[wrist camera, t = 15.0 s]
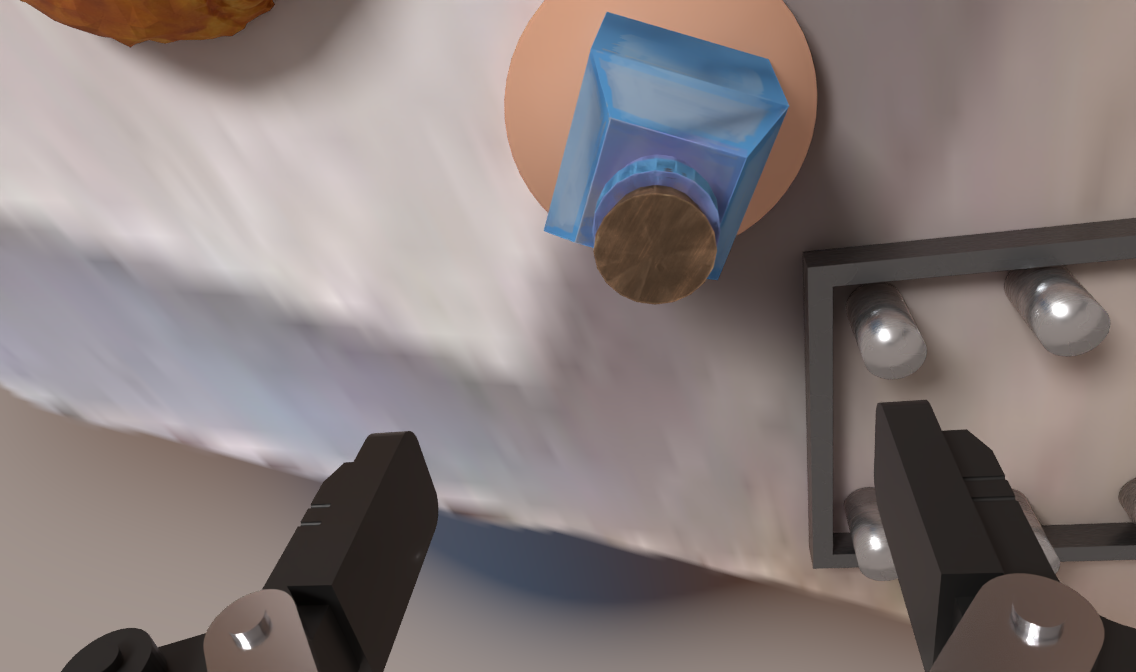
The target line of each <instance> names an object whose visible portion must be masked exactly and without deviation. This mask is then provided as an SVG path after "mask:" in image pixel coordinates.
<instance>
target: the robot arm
mask: <svg viewBox="0 0 1136 672" xmlns="http://www.w3.org/2000/svg"><path fill="white" fill-rule="evenodd" d="M874 485H875V494H876V501H877V507H878V511H879V515H880V518H881V522H882V525H883V529H884V532H885V535H886V539H887V542H888V546H889V549H890V553H891V556H892V560H893V563H894V566H895V570H896V573H897V577H898V580H899V584H900V587H901V590H902V594H903V597H904V601H905V604H906V608H907V611H908V615H909V618H910V621H911V625H912V628H913V632H914V635H915V639H916V642H917V645H918V649H919V652H920V655H921V659H922V662H923V666H924V670H925V672H1136V629H1135V628H1132V627H1128V626H1124V625H1121V624H1119V623H1116V622H1113V621H1111V620H1108V619H1106V618H1104V617H1102V616H1100V615H1099V614H1098V613H1097V611H1096V610H1095V609H1094V607H1093V606H1092V605H1091V604H1090V603H1089V602H1088V601H1087V600H1086V599H1085V598H1084V597H1083V596H1081V595H1080V594H1079V593H1078V592H1076V591H1075V590H1073V589H1071V588H1070V587H1068V586H1066V585H1064V584H1062V583H1060V582H1059V580H1058V578H1057V577H1056V575H1055V573H1054V571H1053V569H1052V567H1051V565H1050V563H1049V561H1048V559H1047V557H1046V555H1045V553H1044V551H1043V549H1042V547H1041V545H1040V544H1039V542H1038V540H1037V538H1036V536H1035V534H1034V532H1033V530H1032V528H1031V526H1030V524H1029V522H1028V520H1027V518H1026V516H1025V514H1024V512H1023V510H1022V508H1021V506H1020V504H1019V502H1018V501H1016V499H1015V494H1014V492H1013V490H1012V488H1011V486H1010V485H1009V483H1008V481H1007V480H1005V475H1004V473H1003V471H1002V469H1001V467H1000V465H999V463H998V461H997V459H996V457H995V455H994V453H993V451H992V450H991V449H990V448H989V447H987V446H986V445H985V444H984V443H983V442H981V441H980V440H979V439H978V438H977V437H975V436H974V435H973V434H972V433H970V432H969V431H968V430H967V429H966V430H948V431H942V430H941V428H940V426H939V423H938V421H937V419H936V416H935V414H934V412H933V410H932V407H931V405H930V403H929V402H928V401H927V400H916V401H900V402H884V403H878V404H877V408H876V425H875V458H874ZM437 520H438V499H437V494H436V491H435V488H434V485H433V482H432V479H431V477H430V474H429V471H428V468H427V465H426V462H425V459H424V456H423V454H422V451H421V448H420V445H419V442H418V440H417V437H416V436H415V434H414V433H413V432H411V431H404V432H388V433H373V434H370V435H369V436H368V437H367V438H366V440H365V442H364V444H363V446H362V447H361V449H360V451H359V453H358V455H357V457H356V459H355V460H354V462H346V463H343V464H342V465H341V466H340V467H339V468H338V469H337V470H336V471H335V472H334V473H333V474H332V475H331V476H330V477H328V478H327V479H326V480H325V481H324V482H323V484H322V485H321V487H320V489H319V491H318V492H317V494H316V496H315V498H314V499H313V501H312V503H311V509H308V510H307V512H306V514H305V515H304V517H303V519H302V521H301V526H300V527H297V529H296V531H295V533H294V535H293V536H292V538H291V540H290V542H289V543H288V545H287V547H286V549H285V551H284V552H283V554H282V556H281V558H280V559H279V561H278V563H277V564H276V566H275V568H274V570H273V572H272V573H271V575H270V577H269V578H268V580H267V582H266V584H265V586H264V587H263V589H262V590H260V591H256V592H253V593H250V594H248V595H245V596H243V597H241V598H240V599H238V600H236V601H234V602H233V603H232V604H230V605H229V606H227V607H226V608H225V609H224V610H223V611H222V612H221V613H220V614H219V615H218V616H217V617H216V618H215V619H214V621H213V622H212V623H211V625H210V627H209V628H208V630H207V632H206V633H205V634H202V635H198V636H195V637H192V638H188V639H185V640H182V641H178V642H175V643H171V644H168V645H164V646H161V647H157V646H156V644H155V643H154V641H153V640H152V638H151V637H150V636H149V635H148V633H146V632H145V631H143V630H141V629H137V628H126V629H120V630H117V631H113V632H111V633H108V634H106V635H104V636H102V637H100V638H98V639H96V640H94V641H93V642H91V643H90V644H88V645H87V646H86V647H84V648H83V649H82V650H80V651H79V652H78V653H77V654H76V655H75V656H74V657H73V658H72V659H71V660H70V661H69V662H68V663H67V664H66V666H65V667H64V668H63V670H62V671H61V672H383V671H384V668H385V666H386V663H387V660H388V657H389V654H390V652H391V649H392V646H393V643H394V641H395V638H396V636H397V633H398V630H399V627H400V625H401V621H402V619H403V616H404V613H405V611H406V608H407V605H408V603H409V600H410V597H411V595H412V592H413V589H414V586H415V584H416V581H417V578H418V575H419V572H420V570H421V567H422V564H423V562H424V559H425V556H426V553H427V551H428V548H429V545H430V542H431V540H432V537H433V534H434V532H435V529H436V525H437Z"/></svg>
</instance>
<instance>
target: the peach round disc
mask: <svg viewBox="0 0 1136 672" xmlns="http://www.w3.org/2000/svg"><path fill="white" fill-rule="evenodd" d="M606 12H610V13H613V14H617V15H620V16H624V17H627V18H630V19H634V20H637V21H641V22H644V23H647V24H651V25H654V26H658V27H661V28H664V29H668V30H671V31H675V32H678V33H681V34H685V35H688V36H692V37H695V38H698V39H702V40H705V41H709V42H712V43H715V44H719V45H722V46H726V47H729V48H732V49H736V50H739V51H743V52H746V53H749V54H753V55H756V56H760V57H763V58H766V59H769V61H770V63H771V65H772V68H773V70H774V72H775V75H776V77H777V79H778V81H779V84H780V86H781V88H782V90H783V93H784V95H785V97H786V99H787V102H788V104H789V108H788V110H787V113H786V115H785V118H784V120H783V123H782V125H781V127H780V130H779V132H778V135H777V137H776V140H775V142H774V144H773V147H772V149H771V152H770V154H769V157H768V159H767V162H766V164H765V166H764V169H763V171H762V174H761V176H760V179H759V181H758V183H757V186H756V188H755V191H754V193H753V196H752V198H751V201H750V203H749V205H748V208H747V210H746V213H745V215H744V218H743V220H742V222H741V225H740V227H739V230H738V232H737V235H739V234H740V233H742V232H744V231H745V230H747V229H748V228H749V227H751V226H752V225H753V224H755V223H756V222H758V221H759V220H760V219H761V218H762V217H763V216H764V215H765V214H766V213H767V212H769V211H770V210H771V209H772V208H773V207H774V206H775V204H776V203H777V202H778V201H779V200H780V198H781V197H782V196H783V195H784V194H785V192H786V191H787V190H788V188H789V186H790V185H791V183H792V182H793V180H794V179H795V177H796V176H797V174H798V172H799V170H800V168H801V165H802V163H803V161H804V159H805V157H806V154H807V151H808V148H809V145H810V142H811V139H812V136H813V131H814V125H815V120H816V111H817V85H816V74H815V69H814V65H813V60H812V56H811V52H810V50H809V47H808V44H807V42H806V39H805V36H804V34H803V32H802V30H801V28H800V26H799V25H798V23H797V21H796V19H795V17H794V15H793V14H792V12H791V11H790V10H789V8H788V7H787V6H786V4H785V3H784V2H783V0H545V1H544V2H543V3H542V4H541V6H540V7H539V8H538V10H537V11H536V13H535V14H534V15H533V17H532V18H531V19H530V21H529V22H528V24H527V26H526V28H525V30H524V32H523V33H522V35H521V37H520V39H519V41H518V44H517V46H516V49H515V51H514V54H513V57H512V59H511V63H510V67H509V71H508V76H507V80H506V89H505V99H504V103H505V124H506V130H507V137H508V141H509V145H510V148H511V152H512V156H513V158H514V161H515V163H516V165H517V168H518V170H519V173H520V175H521V177H522V178H523V180H524V182H525V183H526V185H527V187H528V189H529V190H530V192H531V193H532V194H533V196H534V197H535V198H536V200H537V201H538V202H539V203H540V205H541V206H542V207H543V208H544V209H545V210H546V211H547V212H548V213H549V209H550V205H551V201H552V197H553V193H554V189H555V185H556V182H557V178H558V174H559V170H560V166H561V162H562V158H563V155H564V151H565V147H566V143H567V139H568V135H569V131H570V127H571V124H572V120H573V116H574V112H575V108H576V104H577V100H578V96H579V93H580V89H581V85H582V81H583V77H584V73H585V69H586V66H587V62H588V58H589V54H590V50H591V47H592V45H593V42H594V40H595V38H596V35H597V33H598V31H599V28H600V26H601V24H602V21H603V19H604V17H605V14H606ZM737 235H736V236H737Z"/></svg>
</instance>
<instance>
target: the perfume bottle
mask: <svg viewBox="0 0 1136 672" xmlns="http://www.w3.org/2000/svg"><path fill="white" fill-rule="evenodd" d="M788 108H789V104H788V102H787V99H786V97H785V95H784V93H783V90H782V88H781V86H780V84H779V81H778V79H777V77H776V75H775V72H774V70H773V68H772V65H771V63H770V61H769V59H766V58H763V57H760V56H756V55H753V54H749V53H746V52H743V51H739V50H736V49H732V48H729V47H726V46H722V45H719V44H715V43H712V42H709V41H705V40H702V39H698V38H695V37H692V36H688V35H685V34H681V33H678V32H675V31H671V30H668V29H664V28H661V27H658V26H654V25H651V24H647V23H644V22H641V21H637V20H634V19H630V18H627V17H624V16H620V15H617V14H613V13H610V12H606V14H605V17H604V19H603V21H602V24H601V26H600V28H599V31H598V33H597V35H596V38H595V40H594V42H593V45H592V47H591V50H590V54H589V58H588V62H587V66H586V69H585V73H584V77H583V81H582V85H581V89H580V93H579V96H578V100H577V104H576V108H575V112H574V116H573V120H572V124H571V127H570V131H569V135H568V139H567V143H566V147H565V151H564V155H563V158H562V162H561V166H560V170H559V174H558V178H557V182H556V185H555V189H554V193H553V197H552V201H551V205H550V209H549V213H548V216H547V220H546V224H545V228H544V231H545V232H548V233H551V234H553V235H556V236H559V237H561V238H564V239H567V240H570V241H572V242H575V243H578V244H582V245H585V246H589V247H593V248H594V251H593V252H594V256H595V260H596V265H597V269H598V270H599V272H600V273H601V275H602V277H603V278H604V280H605V282H606V283H607V284H608V285H609V286H610V287H612V288H613V289H614V290H615V291H616V292H618V293H619V294H620V295H622V296H624V297H627V298H629V299H631V300H633V301H636V302H640V303H648V304H662V303H670V302H675V301H677V300H679V299H681V298H684V297H686V296H688V295H690V294H692V293H693V292H694V291H695V290H696V289H697V288H699V287H700V286H701V285H702V284H703V283H704V282H705V281H706V279H712V280H718V278H719V276H720V274H721V271H722V269H723V266H724V264H725V261H726V259H727V257H728V254H729V252H730V249H731V247H732V244H733V242H734V239H735V237H736V235H737V232H738V230H739V227H740V225H741V222H742V220H743V218H744V215H745V213H746V210H747V208H748V205H749V203H750V201H751V198H752V196H753V193H754V191H755V188H756V186H757V183H758V181H759V179H760V176H761V174H762V171H763V169H764V166H765V164H766V162H767V159H768V157H769V154H770V152H771V149H772V147H773V144H774V142H775V140H776V137H777V135H778V132H779V130H780V127H781V125H782V123H783V120H784V118H785V115H786V113H787V110H788Z"/></svg>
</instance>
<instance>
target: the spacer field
mask: <svg viewBox="0 0 1136 672" xmlns="http://www.w3.org/2000/svg"><path fill="white" fill-rule="evenodd" d="M1133 258H1136V218H1132V219H1122V220H1112V221H1103V222H1093V223H1083V224H1073V225H1063V226H1054V227H1044V228H1034V229H1024V230H1014V231H1005V232H995V233H985V234H975V235H965V236H956V237H946V238H936V239H926V240H916V241H907V242H897V243H887V244H877V245H867V246H858V247H848V248H838V249H828V250H818V251H809V252H803V286H804V333H805V379H806V425H807V471H808V518H809V549H810V555H811V560H812V565H813V569H817V568H852V567H859V569H860V571H861V572H862V573H863V574H864V575H865V576H866V577H868V578H870V579H873V580H877V581H889V580H894V579H897V578H898V577H897V573H896V570H895V566H894V563H893V560H892V556H891V553H890V549H889V546H888V542H887V539H886V535H885V532H884V529H883V525H882V522H881V518H880V515H879V511H878V507H877V501H876V494H875V488H872V487H868V488H861V489H858V490H856V491H854V492H852V493H851V494H850V495H848V497H847V498H846V499H845V502H844V510H845V514H846V518H847V522H848V526H849V530H850V533H833V286H843V285H854V284H864V285H862V286H860V287H859V288H857V289H856V290H855V291H854V292H853V293H852V294H851V295H850V296H849V298H848V300H847V303H846V314H847V317H848V319H849V322H850V325H851V328H852V330H853V333H854V336H855V338H856V341H857V344H858V347H859V349H860V352H861V355H862V358H863V360H864V363H865V365H866V367H867V369H868V370H869V371H870V372H871V373H872V374H874V375H875V376H877V377H880V378H884V379H899V378H903V377H906V376H908V375H910V374H912V373H914V372H915V371H916V370H918V369H919V368H920V367H921V365H922V364H923V363H924V361H925V358H926V355H927V347H926V344H925V341H924V340H923V338H922V336H921V334H920V332H919V330H918V328H917V326H916V324H915V322H914V320H913V318H912V316H911V314H910V312H909V310H908V308H907V306H906V304H905V302H904V300H903V298H902V296H901V294H900V292H899V291H898V290H897V289H896V288H895V287H894V286H892V285H890V284H888V283H884V282H886V281H897V280H908V279H918V278H929V277H940V276H951V275H961V274H972V273H983V272H993V271H1004V270H1011V271H1010V272H1009V273H1008V275H1007V277H1006V279H1005V283H1004V291H1005V294H1006V296H1007V297H1008V298H1009V300H1010V301H1011V303H1012V304H1013V305H1014V307H1015V308H1016V309H1017V311H1018V312H1019V313H1020V315H1021V316H1022V317H1023V319H1024V320H1025V321H1026V323H1027V324H1028V326H1029V327H1030V328H1031V330H1032V331H1033V332H1034V334H1035V335H1036V336H1037V338H1038V339H1039V340H1040V342H1041V343H1042V344H1043V346H1044V347H1045V348H1046V349H1047V350H1048V351H1049V352H1051V353H1053V354H1055V355H1059V356H1076V355H1080V354H1083V353H1086V352H1088V351H1090V350H1092V349H1093V348H1095V347H1096V346H1098V345H1099V344H1100V343H1101V342H1102V341H1103V340H1104V339H1105V337H1106V336H1107V334H1108V332H1109V329H1110V318H1109V315H1108V313H1107V312H1106V311H1105V310H1104V309H1103V308H1102V306H1101V305H1100V304H1099V303H1098V302H1097V301H1096V300H1095V299H1094V298H1093V297H1092V296H1091V295H1090V294H1089V293H1088V291H1087V290H1086V289H1085V288H1084V287H1083V286H1082V285H1081V284H1080V283H1079V282H1078V281H1077V280H1076V279H1075V277H1074V276H1073V275H1072V274H1071V273H1070V272H1069V271H1068V270H1067V269H1066V268H1065V267H1064V266H1063V265H1068V264H1079V263H1090V262H1100V261H1111V260H1122V259H1133ZM865 283H867V284H865ZM1012 490H1013V492H1014V494H1015V499H1016V501H1018V502H1019V504H1020V506H1021V508H1022V510H1023V512H1024V514H1025V516H1026V518H1027V520H1028V522H1029V524H1030V526H1031V528H1032V530H1033V532H1034V534H1035V536H1036V538H1037V540H1038V542H1039V544H1040V545H1041V547H1042V549H1043V551H1044V553H1045V555H1046V557H1047V559H1048V561H1049V563H1050V565H1051V567H1052V569H1053V571H1054V573H1055V574H1056V573H1057V571H1058V570H1059V567H1060V562H1066V561H1101V560H1136V478H1134V479H1132V480H1130V481H1129V482H1127V483H1126V484H1125V485H1124V486H1123V487H1122V488H1121V490H1120V492H1119V496H1118V497H1119V501H1120V503H1121V505H1122V506H1123V508H1124V509H1125V511H1126V512H1127V514H1128V515H1129V517H1130V518H1131V519H1132V521H1133V522H1134V523H1108V524H1080V525H1052V526H1041V525H1040V523H1039V521H1038V519H1037V517H1036V516H1035V514H1034V512H1033V510H1032V508H1031V506H1030V504H1029V503H1028V501H1027V499H1026V497H1025V496H1024V495H1023V494H1022V493H1021V492H1019V491H1017V490H1014V489H1012Z"/></svg>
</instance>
